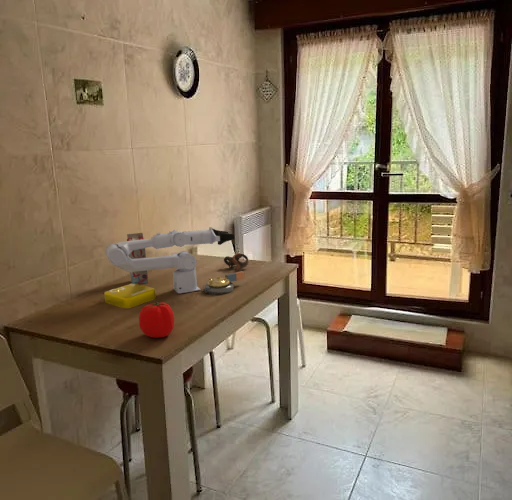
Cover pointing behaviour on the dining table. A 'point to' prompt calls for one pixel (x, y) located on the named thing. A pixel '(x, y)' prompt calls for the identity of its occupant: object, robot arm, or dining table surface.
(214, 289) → the rounded grey metal base
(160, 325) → the tomato
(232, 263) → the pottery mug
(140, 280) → the juice carton
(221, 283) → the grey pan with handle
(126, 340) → the dining table surface
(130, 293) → the element tile
